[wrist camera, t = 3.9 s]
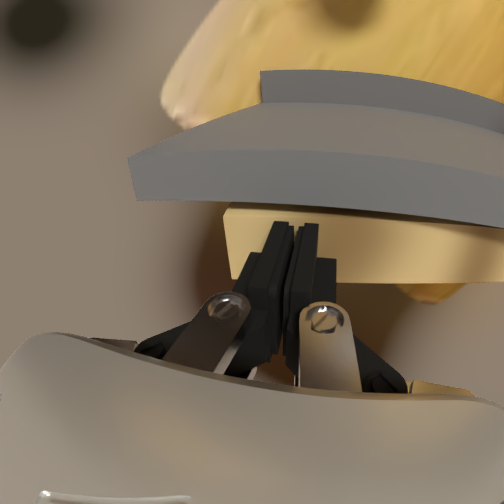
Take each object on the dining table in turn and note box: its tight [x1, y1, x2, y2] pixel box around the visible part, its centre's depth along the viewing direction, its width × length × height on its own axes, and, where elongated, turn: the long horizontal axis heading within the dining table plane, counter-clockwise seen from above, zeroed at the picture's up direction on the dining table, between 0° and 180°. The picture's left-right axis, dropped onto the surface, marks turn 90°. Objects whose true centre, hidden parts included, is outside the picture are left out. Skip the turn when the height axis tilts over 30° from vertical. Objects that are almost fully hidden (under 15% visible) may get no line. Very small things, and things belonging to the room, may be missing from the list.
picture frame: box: [223, 202, 504, 283], centre depth 17 cm, size 24×3×18 cm, turn 94°
